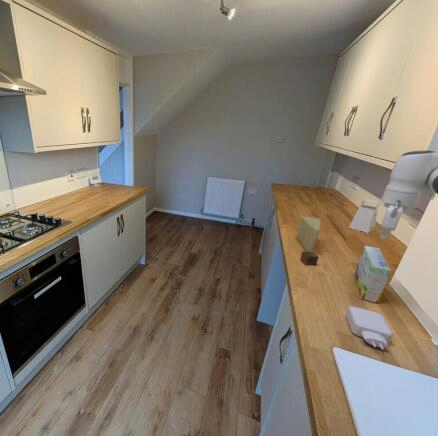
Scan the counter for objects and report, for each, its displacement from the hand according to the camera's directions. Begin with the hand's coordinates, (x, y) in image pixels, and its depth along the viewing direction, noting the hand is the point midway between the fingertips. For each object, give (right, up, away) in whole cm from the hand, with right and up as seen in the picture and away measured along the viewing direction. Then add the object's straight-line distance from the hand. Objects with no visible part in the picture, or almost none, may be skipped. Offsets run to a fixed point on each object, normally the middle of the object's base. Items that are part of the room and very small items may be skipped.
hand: (385, 234), depth 87 cm
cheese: (+3, -10, +47) cm, 49 cm away
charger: (-16, -32, -11) cm, 38 cm away
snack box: (+4, -24, +13) cm, 27 cm away
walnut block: (-7, -16, +31) cm, 36 cm away
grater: (+57, -2, +73) cm, 93 cm away
